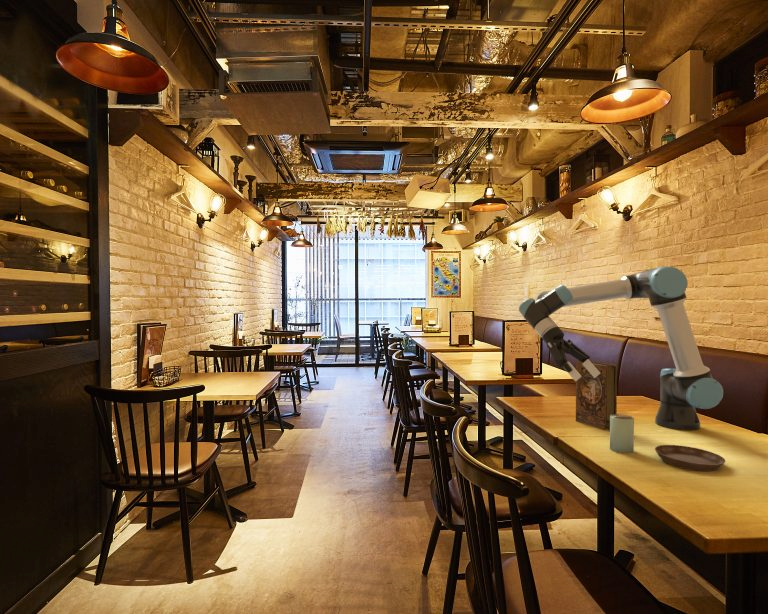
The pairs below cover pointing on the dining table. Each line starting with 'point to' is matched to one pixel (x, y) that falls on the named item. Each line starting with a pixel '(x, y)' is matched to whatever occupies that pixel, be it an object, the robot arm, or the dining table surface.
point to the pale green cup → (622, 433)
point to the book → (596, 395)
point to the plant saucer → (690, 457)
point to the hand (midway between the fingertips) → (588, 377)
